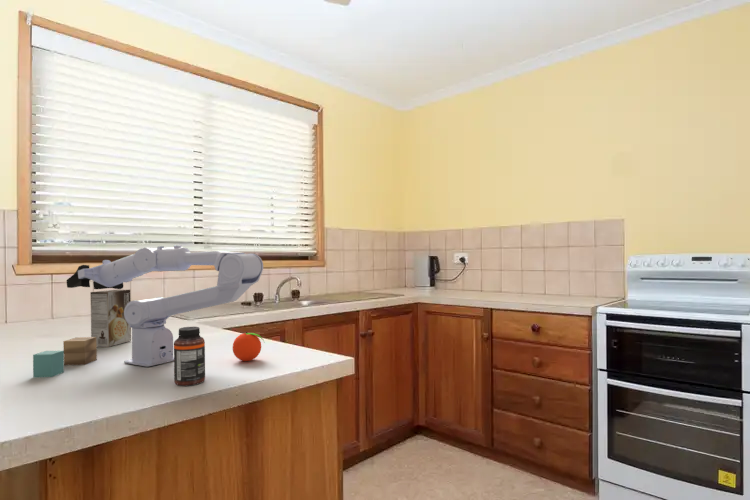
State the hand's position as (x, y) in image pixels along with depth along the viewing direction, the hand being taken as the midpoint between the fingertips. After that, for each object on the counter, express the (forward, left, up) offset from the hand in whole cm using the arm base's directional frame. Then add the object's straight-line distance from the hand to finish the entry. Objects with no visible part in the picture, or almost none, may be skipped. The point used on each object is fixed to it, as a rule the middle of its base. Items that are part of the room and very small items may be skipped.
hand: (81, 284), depth 118 cm
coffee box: (+12, -15, -19) cm, 27 cm away
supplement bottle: (-45, +3, -19) cm, 49 cm away
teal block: (-11, +13, -19) cm, 26 cm away
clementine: (-42, -17, -19) cm, 49 cm away
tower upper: (-5, +3, -16) cm, 17 cm away
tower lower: (-5, +3, -19) cm, 20 cm away
